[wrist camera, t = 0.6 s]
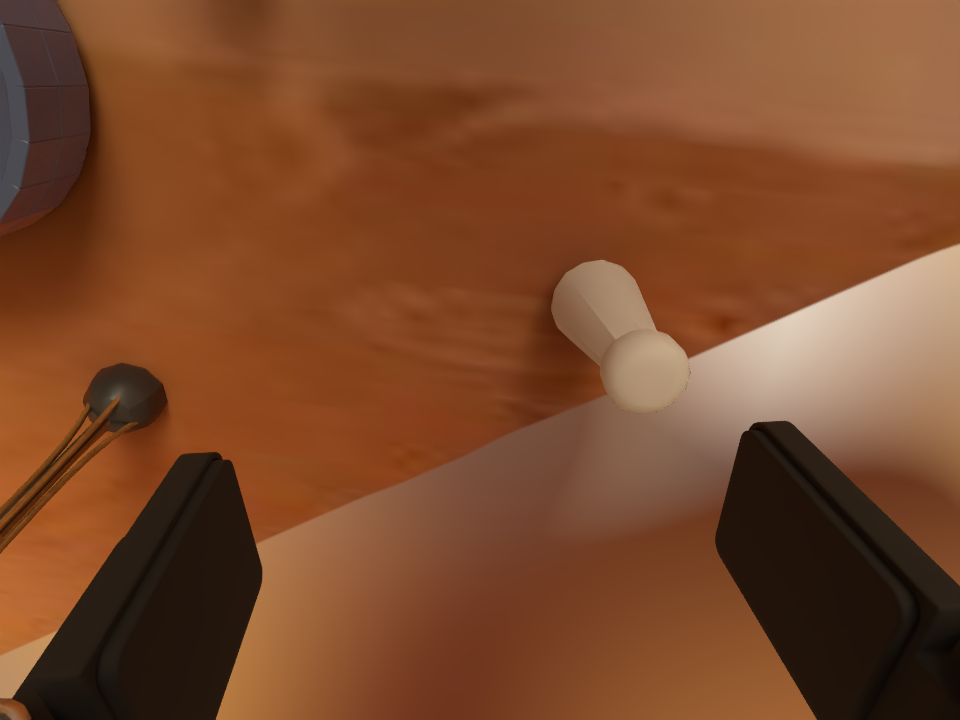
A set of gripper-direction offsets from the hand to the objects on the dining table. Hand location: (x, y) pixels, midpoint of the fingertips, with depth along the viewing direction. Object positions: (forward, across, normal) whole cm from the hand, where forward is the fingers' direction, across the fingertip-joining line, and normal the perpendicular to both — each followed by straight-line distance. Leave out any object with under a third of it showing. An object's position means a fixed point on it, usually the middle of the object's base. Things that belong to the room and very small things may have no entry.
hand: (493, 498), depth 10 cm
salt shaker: (+28, -9, +6) cm, 30 cm away
